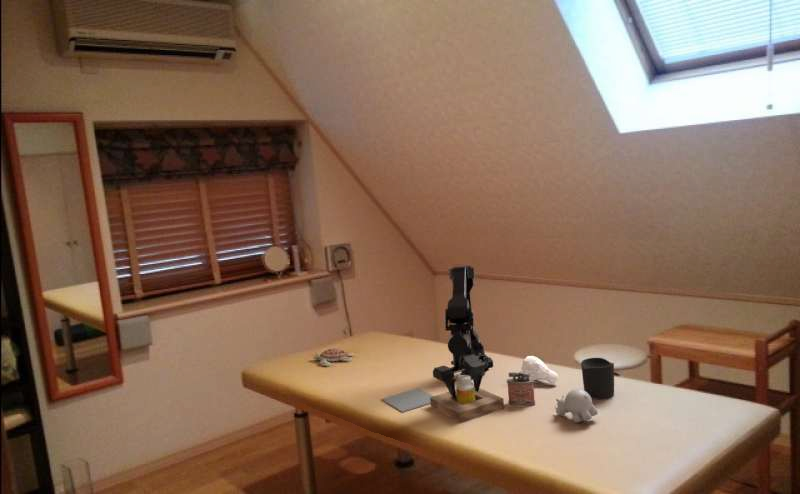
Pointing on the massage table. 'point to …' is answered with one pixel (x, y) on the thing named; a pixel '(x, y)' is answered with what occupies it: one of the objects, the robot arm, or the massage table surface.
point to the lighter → (520, 389)
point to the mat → (409, 400)
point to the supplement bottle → (465, 390)
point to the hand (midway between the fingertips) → (465, 394)
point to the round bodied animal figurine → (576, 405)
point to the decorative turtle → (332, 356)
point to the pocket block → (467, 405)
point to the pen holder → (598, 377)
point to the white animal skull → (538, 370)
